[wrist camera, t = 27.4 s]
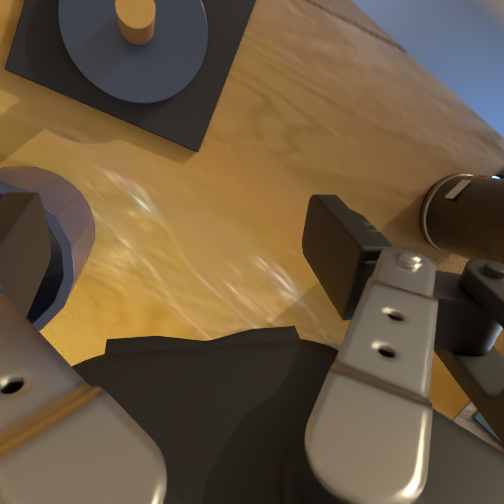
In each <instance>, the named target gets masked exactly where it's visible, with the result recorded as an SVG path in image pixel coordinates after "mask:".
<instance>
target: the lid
mask: <svg viewBox="0 0 504 504" xmlns="http://www.w3.org/2000/svg"><path fill="white" fill-rule="evenodd" d="M58 21H59V28H60V32H61V36H62V40H63V42H64V45H65V47H66V50H67V52H68V54H69V56H70V57H71V59H72V61H73V62H74V64H75V65H76V67H77V68H78V70H79V71H80V72H81V73H82V74H83V75H84V76H85V78H86V79H87V80H88V81H90V82H91V83H92V84H93V85H94V86H95V87H97V88H98V89H100V90H101V91H102V92H104V93H106V94H108V95H110V96H111V97H114V98H116V99H119V100H122V101H126V102H129V103H136V104H151V103H158V102H161V101H164V100H167V99H169V98H172V97H174V96H175V95H177V94H178V93H180V92H181V91H183V90H184V89H185V88H186V87H187V86H188V85H189V84H190V83H191V82H192V81H193V79H194V78H195V76H196V75H197V73H198V72H199V70H200V68H201V66H202V63H203V61H204V58H205V54H206V49H207V43H208V25H207V19H206V14H205V10H204V7H203V4H202V1H201V0H59V3H58Z"/></svg>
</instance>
